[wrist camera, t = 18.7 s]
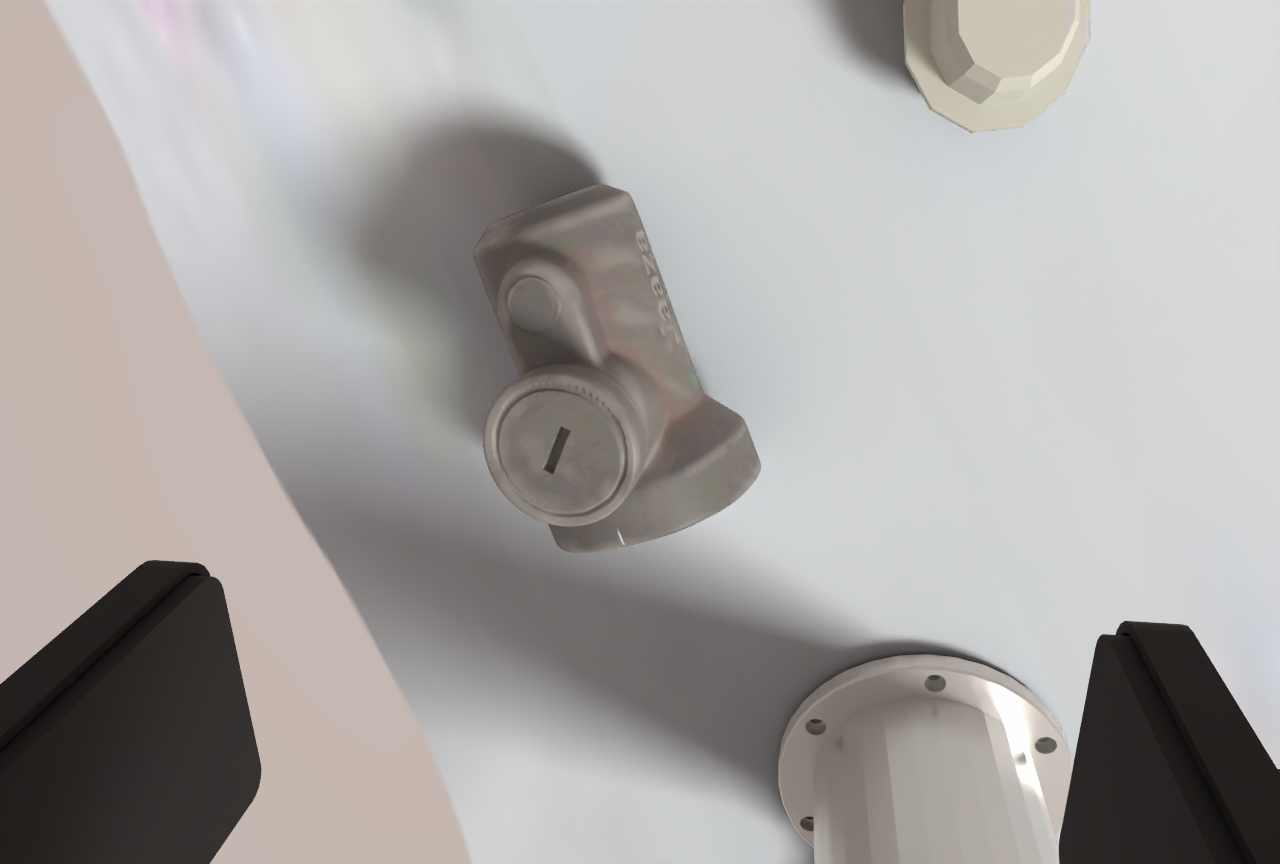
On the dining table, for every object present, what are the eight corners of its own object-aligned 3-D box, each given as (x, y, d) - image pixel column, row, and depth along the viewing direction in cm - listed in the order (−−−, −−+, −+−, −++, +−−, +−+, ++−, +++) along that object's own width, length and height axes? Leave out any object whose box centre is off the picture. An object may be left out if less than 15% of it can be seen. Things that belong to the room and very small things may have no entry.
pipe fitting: (780, 452, 40) (734, 566, 30) (597, 497, 42) (503, 614, 33) (683, 154, 37) (600, 177, 28) (495, 222, 40) (361, 264, 30)
